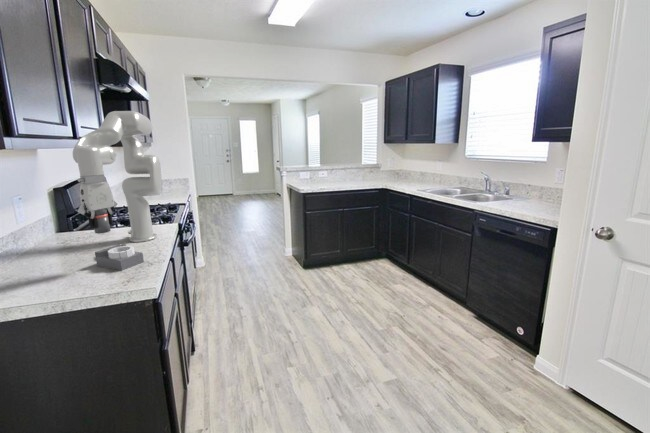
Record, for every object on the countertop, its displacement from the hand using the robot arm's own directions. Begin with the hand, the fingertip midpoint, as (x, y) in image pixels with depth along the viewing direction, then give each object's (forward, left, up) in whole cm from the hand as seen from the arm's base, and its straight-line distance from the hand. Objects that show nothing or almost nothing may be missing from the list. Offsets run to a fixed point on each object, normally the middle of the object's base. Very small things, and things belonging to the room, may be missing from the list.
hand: (101, 225), depth 132 cm
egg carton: (-10, +11, -18) cm, 23 cm away
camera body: (+2, +4, -17) cm, 18 cm away
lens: (0, 0, -2) cm, 2 cm away
